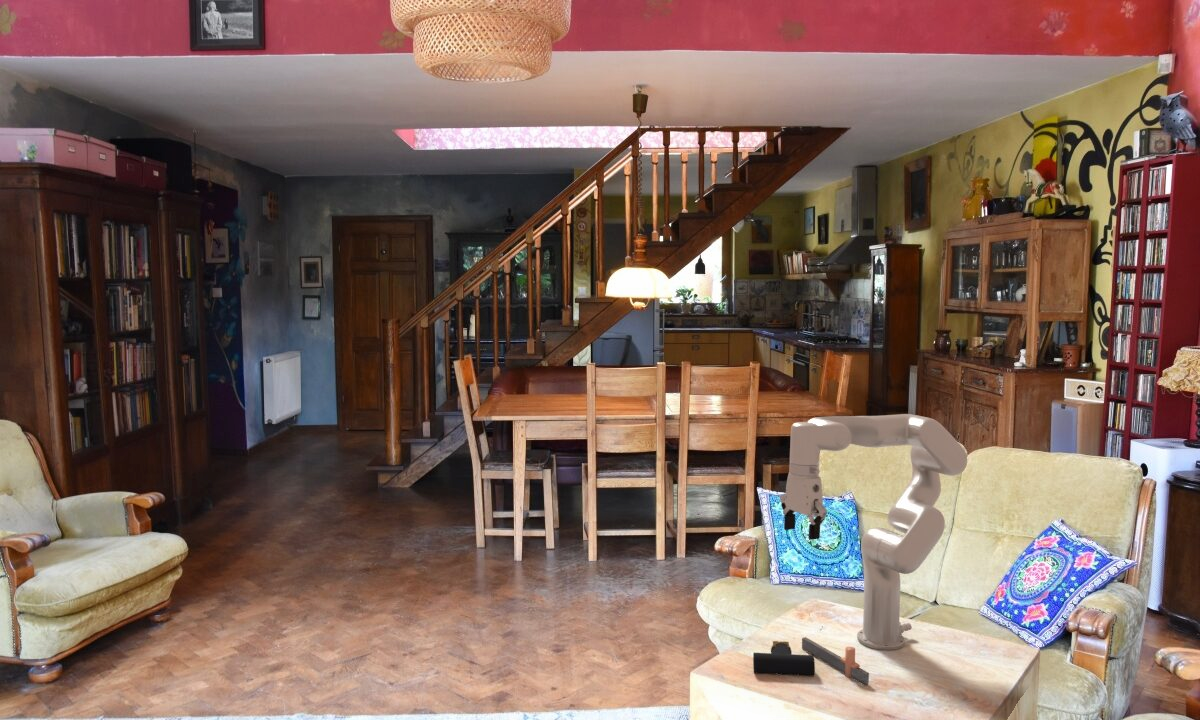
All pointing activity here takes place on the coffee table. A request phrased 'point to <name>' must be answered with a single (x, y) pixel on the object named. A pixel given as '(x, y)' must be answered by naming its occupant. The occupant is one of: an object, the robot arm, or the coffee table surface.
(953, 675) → the coffee table surface
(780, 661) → the pipe connector
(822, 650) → the guide rail
